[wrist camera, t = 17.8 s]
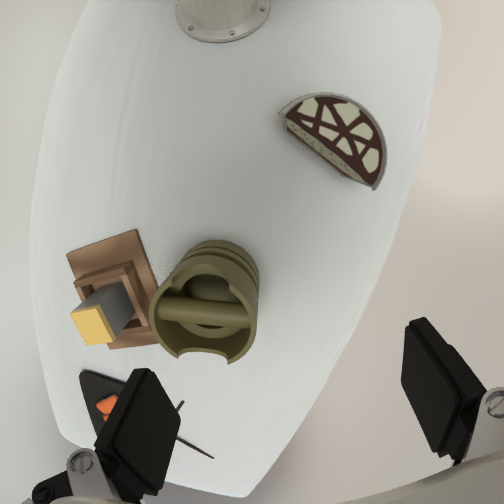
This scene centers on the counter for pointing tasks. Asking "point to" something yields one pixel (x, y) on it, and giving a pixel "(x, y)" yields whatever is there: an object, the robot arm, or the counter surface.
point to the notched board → (115, 270)
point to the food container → (339, 135)
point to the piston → (208, 302)
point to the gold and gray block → (103, 314)
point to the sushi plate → (107, 400)
